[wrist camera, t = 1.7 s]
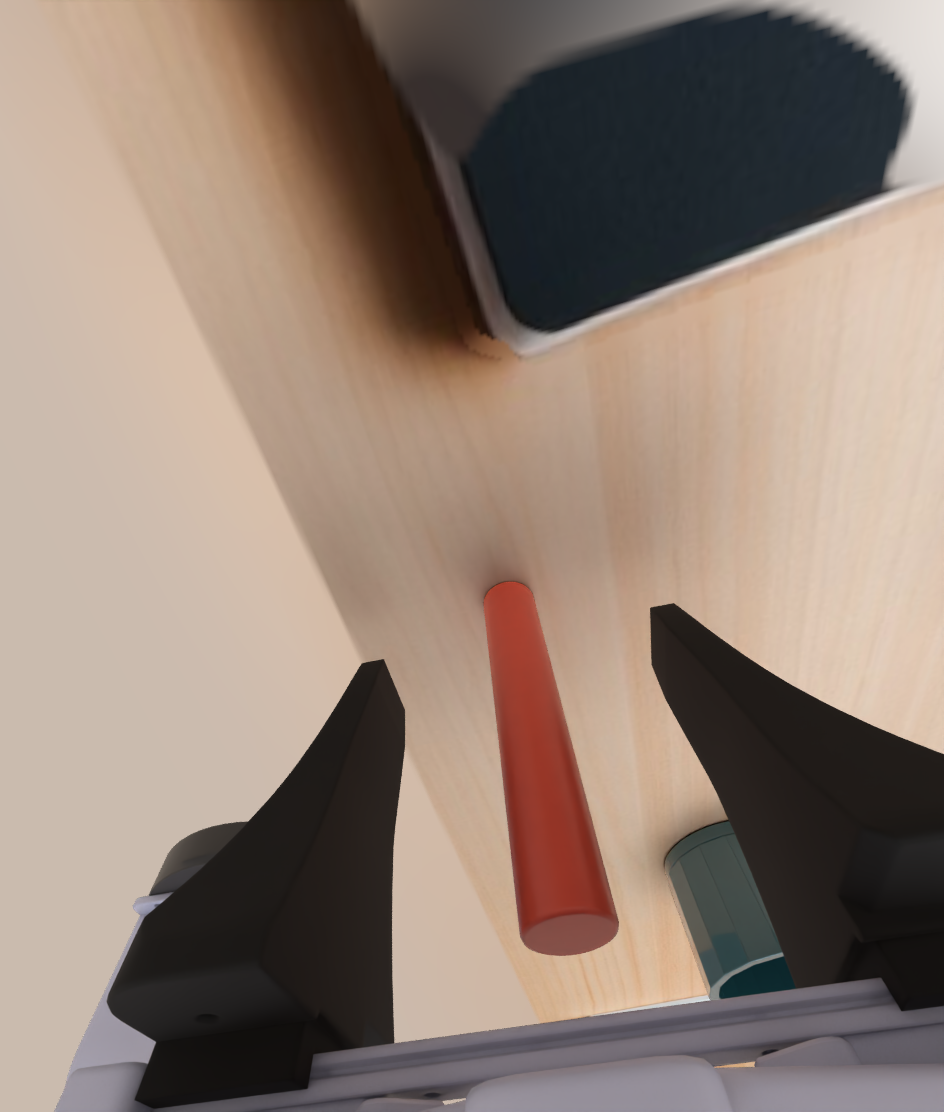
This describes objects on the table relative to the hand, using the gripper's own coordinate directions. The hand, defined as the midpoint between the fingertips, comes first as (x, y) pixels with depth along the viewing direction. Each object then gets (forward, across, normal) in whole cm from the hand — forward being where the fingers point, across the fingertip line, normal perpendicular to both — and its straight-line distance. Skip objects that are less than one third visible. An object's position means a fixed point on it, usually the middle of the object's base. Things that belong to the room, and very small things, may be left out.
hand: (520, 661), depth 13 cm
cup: (+3, -8, +18) cm, 20 cm away
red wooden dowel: (+3, 0, 0) cm, 3 cm away
